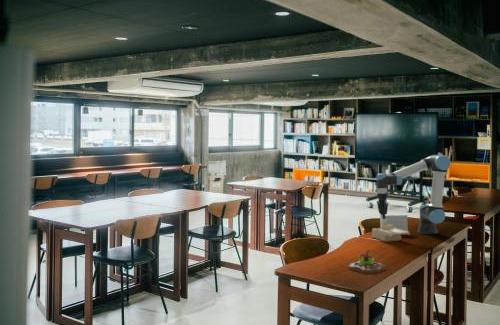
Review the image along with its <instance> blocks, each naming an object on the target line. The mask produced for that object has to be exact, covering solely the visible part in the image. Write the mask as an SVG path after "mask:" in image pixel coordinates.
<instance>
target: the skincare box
mask: <svg viewBox="0 0 500 325" xmlns="http://www.w3.org/2000/svg"><path fill="white" fill-rule="evenodd" d="M379 218H380V219H379V220H380V221H379V222H380V227H381V226H382V225H393V228H398V229H401V230H405V231H408V232H409V230H408V225H409V224H408V214H385V223H381V214H380V215H379ZM402 235H407V234H401V236H402ZM407 236H408V235H407Z"/></svg>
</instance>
